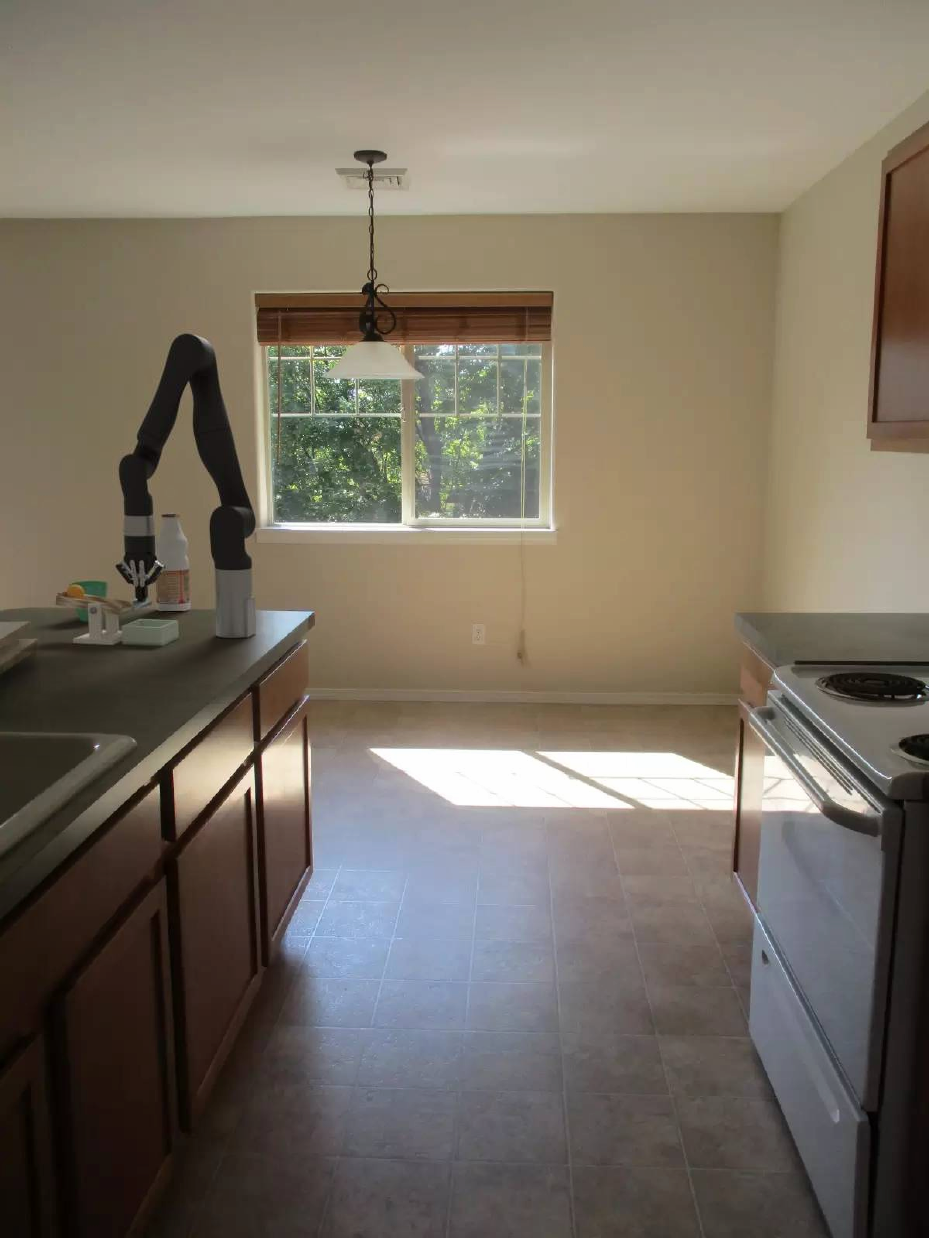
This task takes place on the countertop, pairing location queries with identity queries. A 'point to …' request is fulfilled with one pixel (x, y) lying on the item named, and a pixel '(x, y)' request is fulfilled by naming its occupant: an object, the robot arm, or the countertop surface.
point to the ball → (75, 592)
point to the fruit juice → (172, 566)
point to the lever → (106, 603)
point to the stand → (100, 628)
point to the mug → (91, 593)
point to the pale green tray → (150, 632)
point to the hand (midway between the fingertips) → (141, 600)
